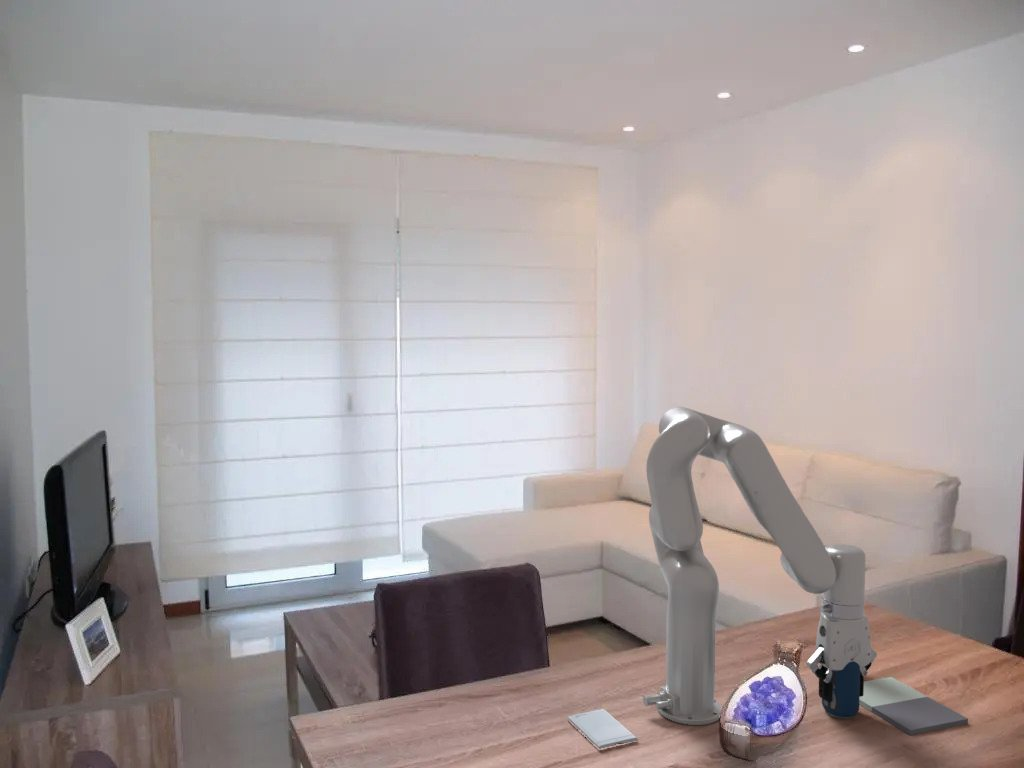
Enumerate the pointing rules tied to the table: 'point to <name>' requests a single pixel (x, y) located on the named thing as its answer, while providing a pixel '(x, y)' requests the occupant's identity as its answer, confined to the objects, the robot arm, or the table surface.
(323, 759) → the table surface
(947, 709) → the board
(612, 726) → the hard drive
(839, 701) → the soda can
